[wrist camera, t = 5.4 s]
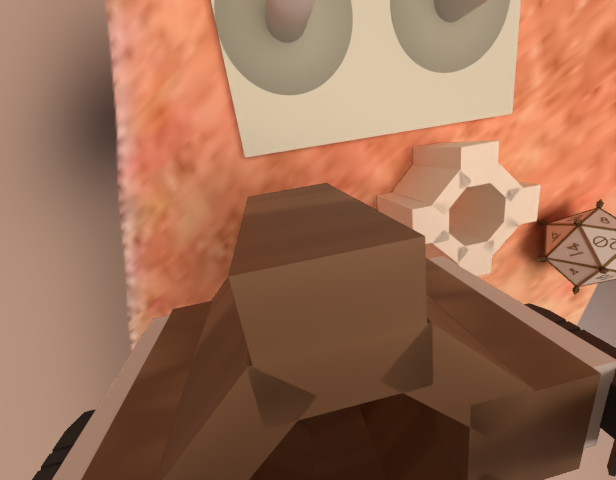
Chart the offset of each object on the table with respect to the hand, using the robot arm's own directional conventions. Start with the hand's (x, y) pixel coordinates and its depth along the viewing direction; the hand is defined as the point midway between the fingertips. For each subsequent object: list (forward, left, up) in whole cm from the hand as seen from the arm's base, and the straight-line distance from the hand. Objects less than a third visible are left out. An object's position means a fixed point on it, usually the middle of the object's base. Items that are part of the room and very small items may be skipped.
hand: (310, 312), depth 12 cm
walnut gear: (0, 0, 0) cm, 0 cm away
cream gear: (-1, -15, -16) cm, 22 cm away
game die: (-8, -30, -16) cm, 35 cm away
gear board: (+16, -10, -16) cm, 25 cm away
